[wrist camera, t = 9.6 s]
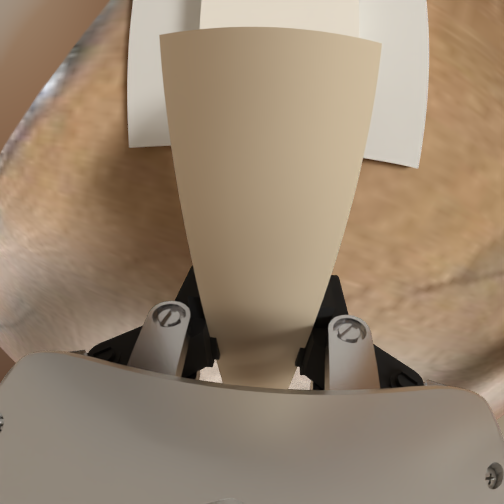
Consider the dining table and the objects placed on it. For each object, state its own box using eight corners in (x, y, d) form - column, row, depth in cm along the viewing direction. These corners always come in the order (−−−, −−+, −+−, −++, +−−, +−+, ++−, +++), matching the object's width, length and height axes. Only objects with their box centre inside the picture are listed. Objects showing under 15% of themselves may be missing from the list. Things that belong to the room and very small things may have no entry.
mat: (416, -38, 6) (419, -41, 6) (413, 165, 13) (418, 168, 13) (147, -52, 7) (143, -55, 7) (133, 145, 14) (129, 147, 14)
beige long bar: (329, 37, 6) (381, 43, 3) (283, 343, 19) (277, 411, 15) (227, 31, 6) (159, 34, 3) (240, 339, 19) (230, 406, 16)
